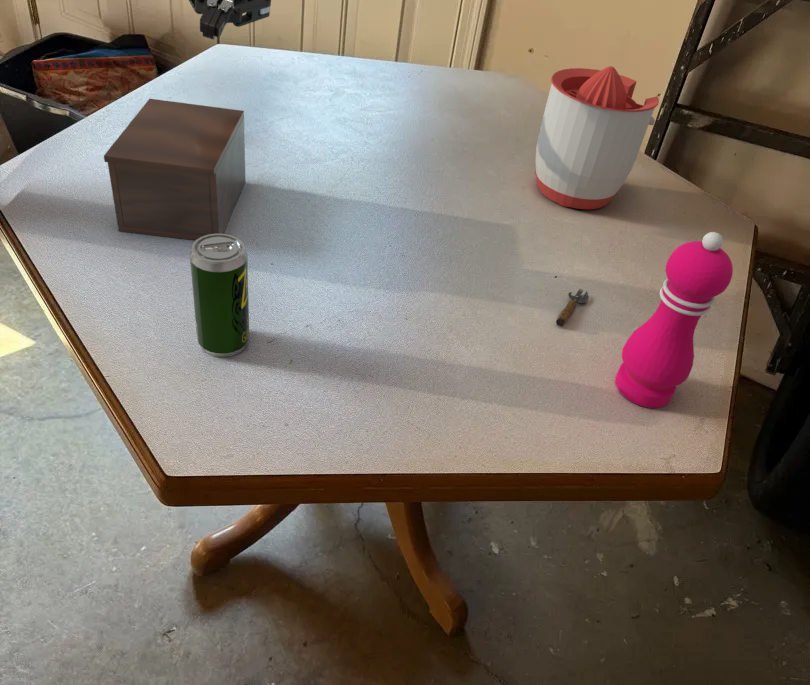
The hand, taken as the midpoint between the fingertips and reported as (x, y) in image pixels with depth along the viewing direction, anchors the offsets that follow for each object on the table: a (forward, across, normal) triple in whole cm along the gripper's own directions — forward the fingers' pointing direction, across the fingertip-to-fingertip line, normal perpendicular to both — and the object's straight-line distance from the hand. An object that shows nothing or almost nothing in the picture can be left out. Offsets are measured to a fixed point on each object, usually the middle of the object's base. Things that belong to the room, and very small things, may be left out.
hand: (208, 32), depth 93 cm
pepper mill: (+39, +59, -4) cm, 71 cm away
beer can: (+43, +14, +3) cm, 45 cm away
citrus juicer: (-3, +58, +11) cm, 59 cm away
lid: (+15, +1, +4) cm, 16 cm away
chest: (+18, +3, +14) cm, 23 cm away
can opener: (+27, +53, +1) cm, 60 cm away
